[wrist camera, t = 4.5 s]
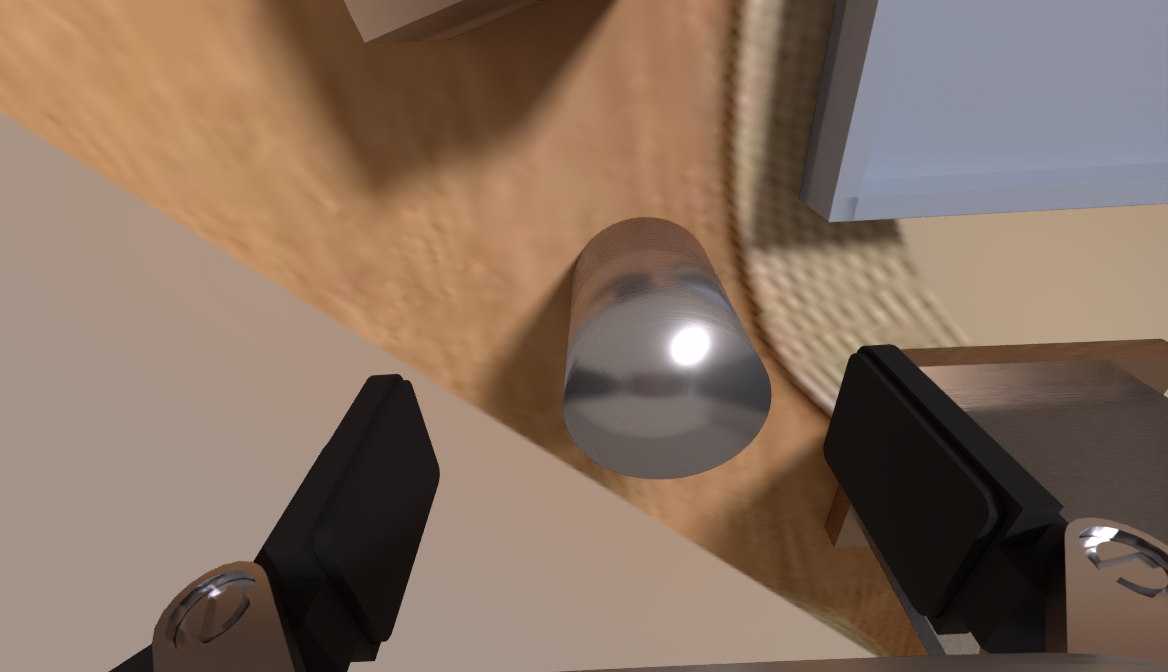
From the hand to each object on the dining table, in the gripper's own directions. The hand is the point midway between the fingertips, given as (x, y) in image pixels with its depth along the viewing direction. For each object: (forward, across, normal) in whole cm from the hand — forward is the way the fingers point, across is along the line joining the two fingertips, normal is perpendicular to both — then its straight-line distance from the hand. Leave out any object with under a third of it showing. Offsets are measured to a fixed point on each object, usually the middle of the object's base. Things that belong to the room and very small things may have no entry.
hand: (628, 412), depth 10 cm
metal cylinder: (+6, -1, 0) cm, 6 cm away
